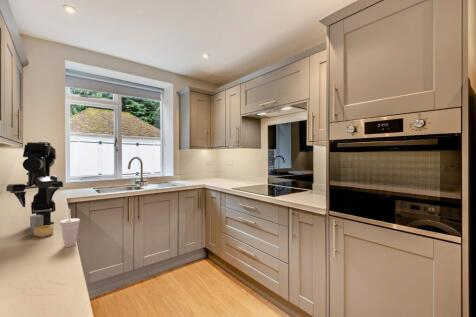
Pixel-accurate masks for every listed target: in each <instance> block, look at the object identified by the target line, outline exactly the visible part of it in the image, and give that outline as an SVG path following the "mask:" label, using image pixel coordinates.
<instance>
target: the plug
mask: <svg viewBox="0 0 476 317" xmlns="http://www.w3.org/2000/svg"><path fill="white" fill-rule="evenodd" d="M29 218H30V219H29V223H30V224H29V233H30V235H31V234H32V236H34V228H36V227H41V226H43V215H36V214H33V215H30V217H29Z"/></svg>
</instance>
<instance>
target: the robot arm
mask: <svg viewBox="0 0 476 317" xmlns="http://www.w3.org/2000/svg"><path fill="white" fill-rule="evenodd" d="M22 158H26V159H24V161H23V162H22V167H23V169H24V170H26V171H27V172H26V176H27V178H28V179H27V180H28V181H26V184H24V183H12V184H11V183H10V184H7V185H6V189H5V191H6V192H10V194H14V196H15V197H16V198H17V199H18V201H19V203H20V204H21V206H22V208H26V193H27V191H26V190H28V189H29V190H30V189H37V190H38V191H37V193H36V194H34V195H33V199H32V201H31V203H30V208H31V209H30V210H31V215H43V226H45V225H48V226H49V225H51V224H54V223H55V222H54V221H51V220H52V219H51V218H52V213H54V212H56V211H57V210H56V208H57V207H56V202H55V200H54V199H53V197H54V195H55V192H57V191H58V190H60V189H61V188H63V187H64V182H63V181H62V180H58V176H57V175H51V167H52V166H53V165H54V164H55V160H57V151H56V148H55V147H53V146H52V145H51V142H49V141H39V142H38V141H37V142H36V141H33V142H32V141H27V143H26V144H25V145H24V149H23V153H22Z"/></svg>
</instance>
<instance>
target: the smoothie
mask: <svg viewBox="0 0 476 317" xmlns="http://www.w3.org/2000/svg"><path fill="white" fill-rule="evenodd" d="M71 216H72V215H71V208H69V209H68V218H66V219H62V220H60V221H59V225H60V227H61V233H62V241H63V247H64V248H69V247H73V246H76V245H77V238H78V234H79V233H78V232H79V226H80V225H79V224H80V223H81V219H80V218H78V217H77V218H76V217H75V218H74V217H73V218H72V217H71Z"/></svg>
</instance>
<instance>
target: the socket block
mask: <svg viewBox="0 0 476 317" xmlns="http://www.w3.org/2000/svg"><path fill="white" fill-rule="evenodd" d="M49 236H54V225H53V226H51V225H49V224H48V225H44V226H41V227H36V228H34V235H33V237H36V238H40V239H42V238H45V237H49Z"/></svg>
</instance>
